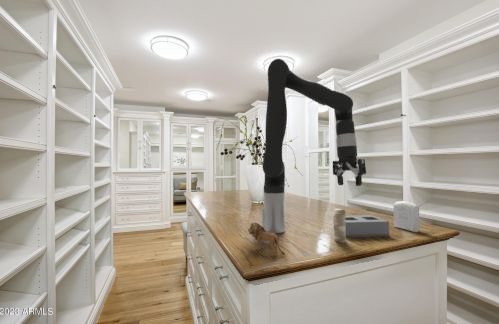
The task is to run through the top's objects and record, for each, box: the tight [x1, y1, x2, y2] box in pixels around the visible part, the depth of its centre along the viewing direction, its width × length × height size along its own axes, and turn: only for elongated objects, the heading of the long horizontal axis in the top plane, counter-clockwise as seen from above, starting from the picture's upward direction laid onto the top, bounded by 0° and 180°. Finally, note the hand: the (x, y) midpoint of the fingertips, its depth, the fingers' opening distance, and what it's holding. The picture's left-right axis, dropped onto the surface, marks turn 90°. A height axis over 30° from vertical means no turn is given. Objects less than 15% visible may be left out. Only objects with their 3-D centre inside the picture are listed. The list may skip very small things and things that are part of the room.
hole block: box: [345, 214, 390, 238], centre depth 101 cm, size 18×12×6 cm, turn 93°
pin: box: [333, 208, 347, 244], centre depth 90 cm, size 4×4×12 cm
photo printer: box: [393, 200, 420, 233], centre depth 106 cm, size 10×4×12 cm, turn 23°
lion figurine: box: [247, 222, 286, 257], centre depth 81 cm, size 15×5×9 cm, turn 50°
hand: (349, 185), depth 95 cm, fingers open, 8 cm apart
